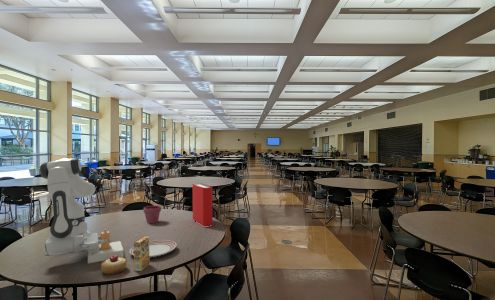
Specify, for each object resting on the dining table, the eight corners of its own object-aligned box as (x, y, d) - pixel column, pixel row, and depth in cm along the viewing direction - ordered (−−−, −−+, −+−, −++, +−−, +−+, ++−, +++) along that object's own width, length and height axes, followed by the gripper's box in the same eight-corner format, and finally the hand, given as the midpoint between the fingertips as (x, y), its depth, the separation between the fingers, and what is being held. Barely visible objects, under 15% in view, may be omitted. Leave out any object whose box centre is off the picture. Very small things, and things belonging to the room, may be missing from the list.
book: (192, 220, 241) (192, 183, 241) (201, 218, 245) (201, 183, 245) (203, 227, 218) (203, 187, 217) (213, 226, 222) (212, 187, 221)
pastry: (125, 264, 151) (125, 248, 151) (127, 273, 140) (127, 255, 140) (100, 268, 145) (101, 251, 145) (100, 277, 134) (101, 259, 135)
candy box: (141, 271, 141) (140, 242, 141) (133, 271, 141) (133, 241, 141) (149, 264, 150) (149, 236, 149) (142, 264, 150) (142, 236, 150)
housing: (88, 252, 167) (87, 245, 167) (120, 247, 176) (120, 240, 176) (87, 263, 151) (87, 255, 151) (123, 256, 160) (123, 249, 160)
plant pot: (152, 219, 245) (152, 204, 245) (164, 220, 239) (164, 206, 239) (140, 223, 232) (139, 208, 232) (152, 224, 226) (152, 209, 226)
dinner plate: (119, 260, 156) (119, 254, 156) (144, 243, 183) (144, 238, 183) (165, 262, 152) (165, 256, 152) (183, 245, 180) (183, 240, 180)
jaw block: (100, 250, 164) (100, 228, 164) (109, 248, 166) (109, 227, 166) (101, 252, 160) (101, 230, 160) (109, 251, 163) (109, 229, 162)
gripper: (79, 242, 148) (107, 238, 155) (80, 232, 165) (105, 229, 172) (79, 254, 148) (107, 249, 155) (80, 243, 166) (106, 239, 173)
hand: (106, 238), depth 164 cm, fingers closed on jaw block, 4 cm apart
